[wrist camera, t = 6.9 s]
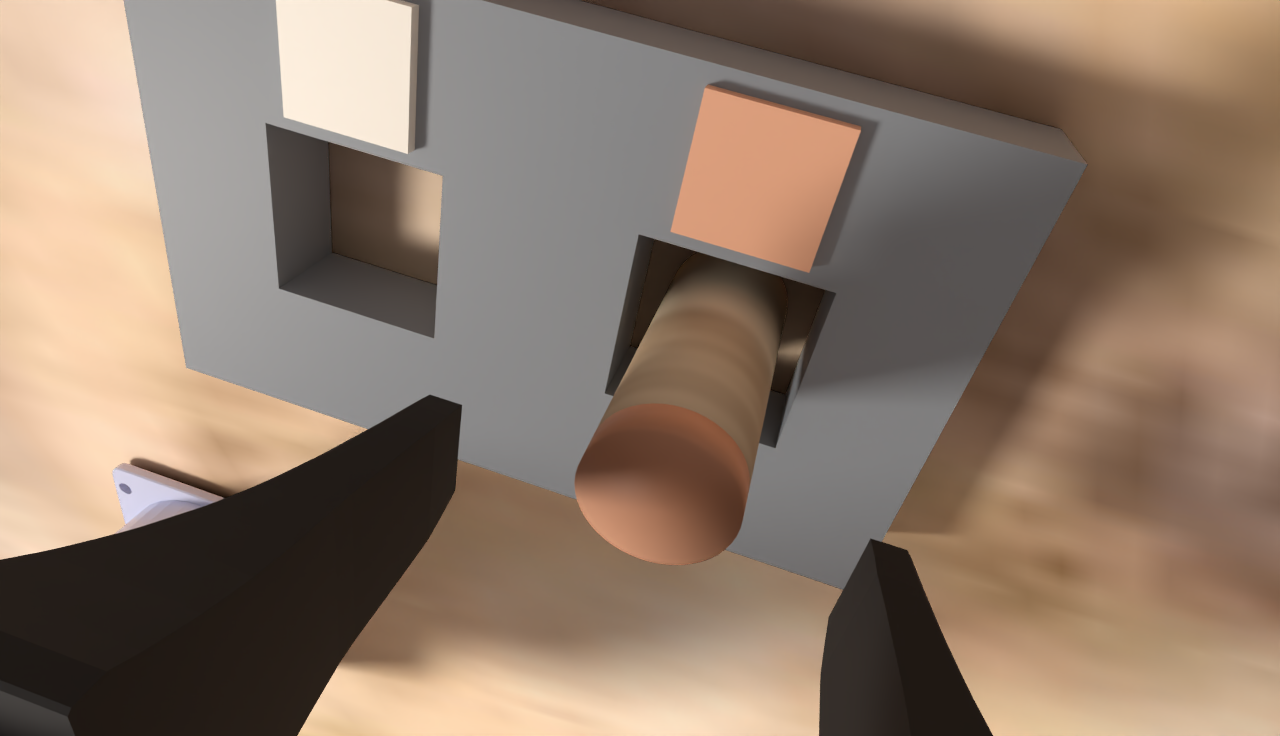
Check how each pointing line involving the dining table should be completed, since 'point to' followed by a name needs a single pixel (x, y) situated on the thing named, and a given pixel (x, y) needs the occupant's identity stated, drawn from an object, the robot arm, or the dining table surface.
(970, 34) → the dining table surface
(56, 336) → the dining table surface
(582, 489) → the plug
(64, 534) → the dining table surface
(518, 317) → the socket board
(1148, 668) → the dining table surface
